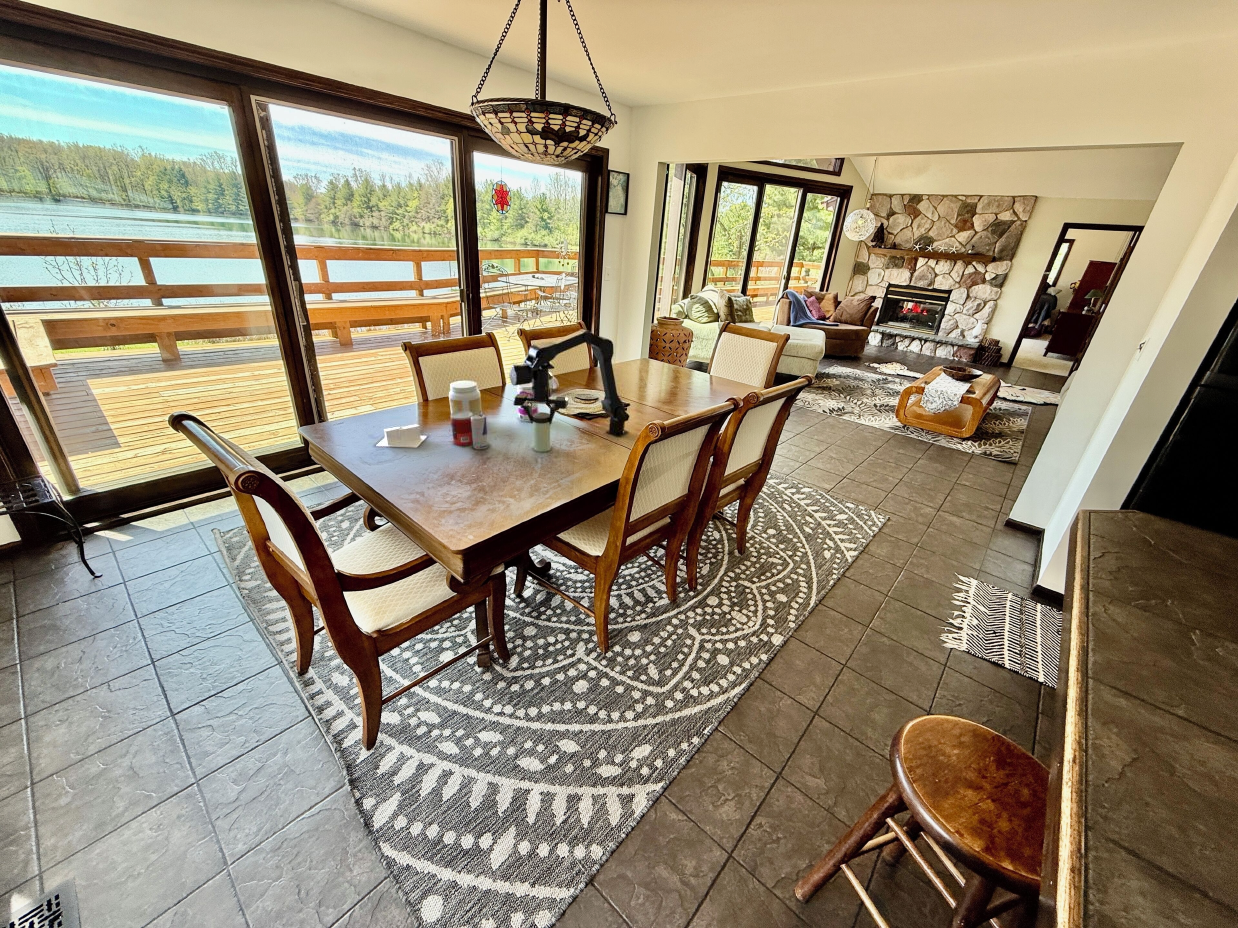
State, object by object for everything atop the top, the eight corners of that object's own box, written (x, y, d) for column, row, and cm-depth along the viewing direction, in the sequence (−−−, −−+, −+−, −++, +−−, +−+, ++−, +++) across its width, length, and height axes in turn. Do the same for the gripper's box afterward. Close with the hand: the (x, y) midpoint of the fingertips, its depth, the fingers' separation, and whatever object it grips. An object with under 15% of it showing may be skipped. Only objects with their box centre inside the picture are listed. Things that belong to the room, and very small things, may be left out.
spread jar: (531, 392, 240) (530, 369, 235) (538, 386, 251) (537, 364, 246) (554, 394, 239) (553, 371, 234) (560, 388, 249) (560, 366, 244)
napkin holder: (427, 435, 184) (425, 421, 182) (417, 447, 174) (415, 432, 172) (387, 434, 184) (385, 420, 181) (375, 446, 173) (372, 431, 171)
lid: (541, 415, 178) (541, 411, 177) (554, 419, 175) (554, 415, 174) (528, 420, 173) (528, 415, 172) (541, 424, 170) (541, 419, 169)
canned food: (479, 440, 182) (477, 413, 178) (465, 447, 176) (462, 419, 171) (463, 436, 185) (461, 409, 181) (449, 443, 179) (445, 415, 174)
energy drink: (491, 445, 179) (489, 415, 174) (483, 450, 174) (480, 419, 169) (478, 443, 180) (476, 412, 175) (470, 448, 176) (467, 417, 171)
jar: (541, 443, 182) (540, 412, 177) (554, 448, 179) (553, 416, 174) (530, 448, 178) (529, 416, 172) (542, 453, 175) (541, 420, 169)
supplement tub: (482, 418, 204) (478, 379, 197) (484, 428, 194) (480, 387, 187) (451, 420, 201) (447, 380, 193) (452, 430, 190) (447, 389, 183)
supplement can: (534, 423, 202) (533, 388, 195) (515, 420, 203) (514, 386, 197) (541, 416, 209) (540, 383, 203) (523, 414, 210) (521, 381, 204)
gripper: (570, 377, 174) (570, 418, 181) (520, 374, 175) (522, 414, 182) (565, 386, 164) (565, 428, 171) (511, 382, 165) (514, 424, 172)
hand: (541, 423), depth 174 cm, fingers closed on lid, 6 cm apart
